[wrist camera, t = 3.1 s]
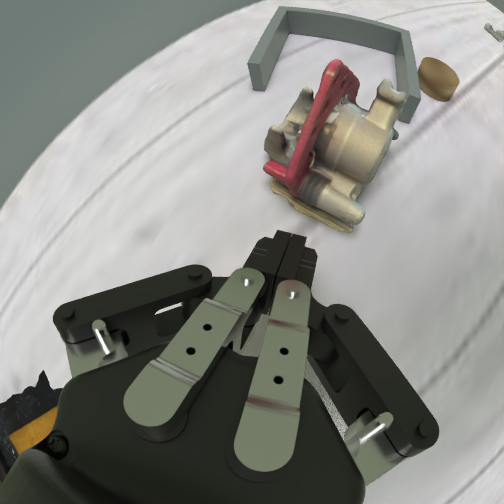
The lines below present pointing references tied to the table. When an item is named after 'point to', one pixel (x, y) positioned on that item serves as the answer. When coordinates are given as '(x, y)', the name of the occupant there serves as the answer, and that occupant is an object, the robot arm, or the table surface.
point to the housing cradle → (341, 30)
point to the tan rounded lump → (437, 79)
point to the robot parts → (498, 34)
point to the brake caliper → (332, 147)
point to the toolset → (26, 421)
